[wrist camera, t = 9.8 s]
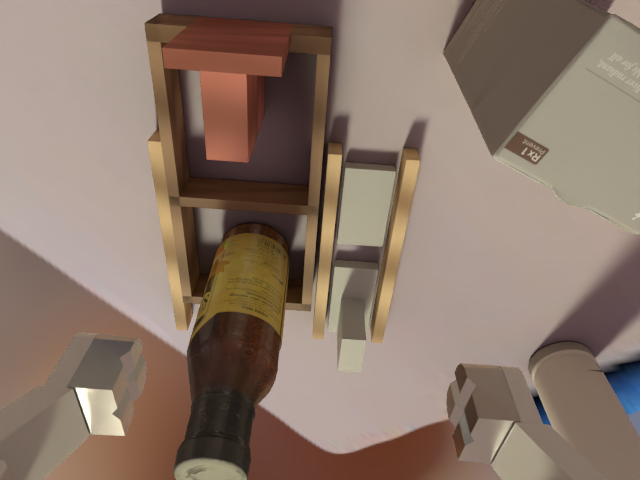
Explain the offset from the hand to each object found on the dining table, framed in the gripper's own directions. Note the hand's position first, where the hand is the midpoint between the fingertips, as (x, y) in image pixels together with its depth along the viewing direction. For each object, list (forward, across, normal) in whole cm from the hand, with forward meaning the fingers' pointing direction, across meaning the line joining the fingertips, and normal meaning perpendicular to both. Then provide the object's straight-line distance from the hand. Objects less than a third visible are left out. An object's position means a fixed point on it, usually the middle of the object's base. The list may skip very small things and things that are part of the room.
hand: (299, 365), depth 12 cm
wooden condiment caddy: (+24, +5, +8) cm, 26 cm away
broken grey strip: (+25, -4, +15) cm, 29 cm away
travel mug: (+25, -27, +26) cm, 45 cm away
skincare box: (+25, -12, -3) cm, 28 cm away
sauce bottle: (+25, +4, +16) cm, 30 cm away
